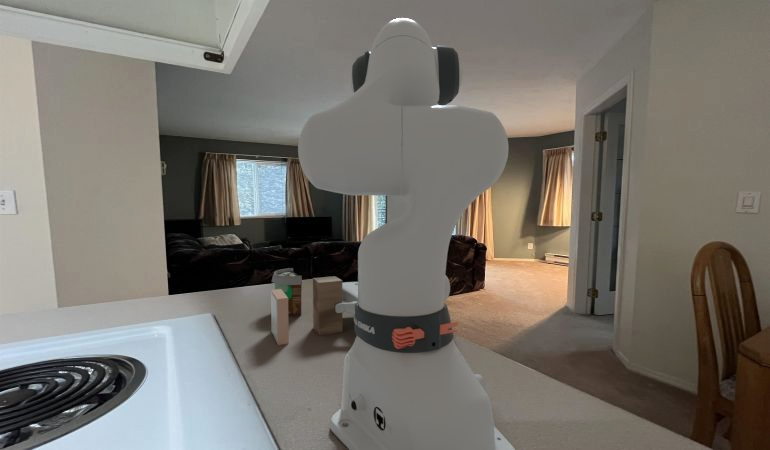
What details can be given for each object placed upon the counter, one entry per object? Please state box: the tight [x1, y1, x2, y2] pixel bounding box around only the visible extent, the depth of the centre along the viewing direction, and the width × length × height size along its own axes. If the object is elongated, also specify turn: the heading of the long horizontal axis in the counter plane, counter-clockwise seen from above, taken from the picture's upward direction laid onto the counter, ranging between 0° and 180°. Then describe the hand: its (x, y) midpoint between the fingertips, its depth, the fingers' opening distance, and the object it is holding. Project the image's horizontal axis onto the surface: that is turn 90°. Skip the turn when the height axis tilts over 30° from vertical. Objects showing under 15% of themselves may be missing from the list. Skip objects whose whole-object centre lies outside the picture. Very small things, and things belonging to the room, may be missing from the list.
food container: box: [271, 267, 303, 317], centre depth 88 cm, size 12×6×10 cm, turn 25°
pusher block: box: [312, 275, 344, 337], centre depth 75 cm, size 5×5×11 cm
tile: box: [270, 289, 290, 346], centre depth 71 cm, size 8×2×9 cm, turn 26°
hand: (328, 302), depth 75 cm, fingers open, 8 cm apart
